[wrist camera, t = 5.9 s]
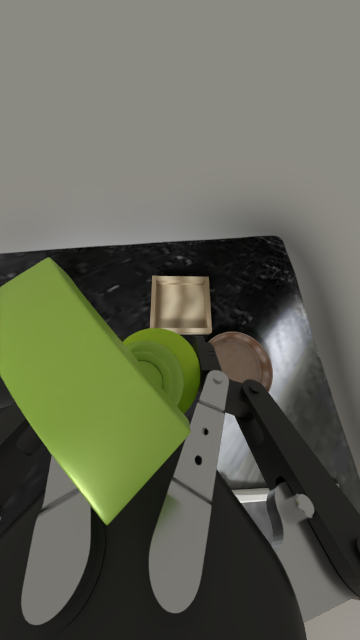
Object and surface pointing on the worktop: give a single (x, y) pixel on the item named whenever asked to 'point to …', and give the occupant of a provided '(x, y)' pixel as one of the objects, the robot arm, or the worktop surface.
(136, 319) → the worktop surface
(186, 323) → the birch crate
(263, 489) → the white ball-headed stick
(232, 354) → the plant saucer
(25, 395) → the soap dispenser
